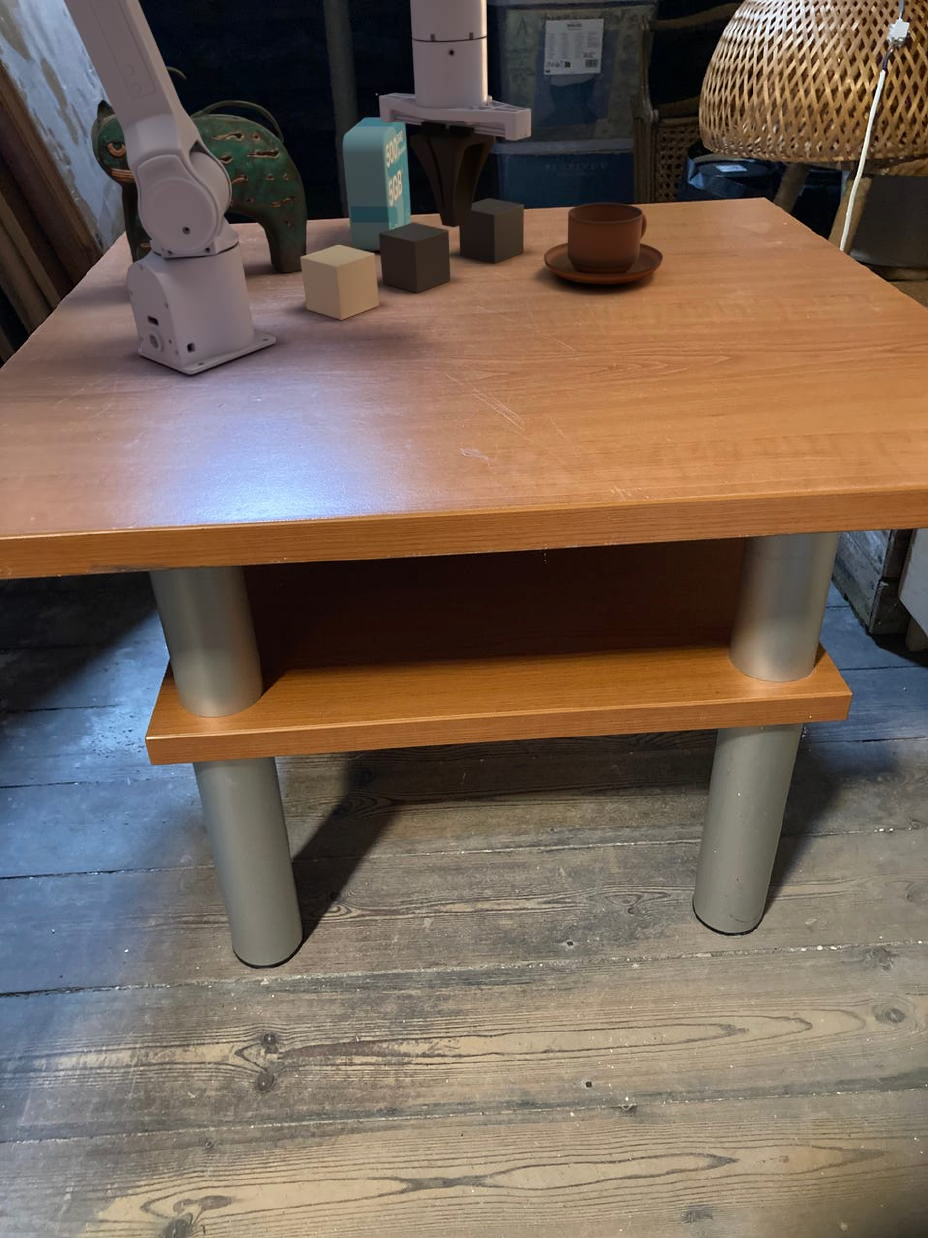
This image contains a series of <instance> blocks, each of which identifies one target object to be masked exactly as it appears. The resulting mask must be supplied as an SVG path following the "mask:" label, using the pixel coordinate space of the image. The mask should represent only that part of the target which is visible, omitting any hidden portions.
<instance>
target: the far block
mask: <svg viewBox="0 0 928 1238" xmlns="http://www.w3.org/2000/svg"><path fill="white" fill-rule="evenodd" d="M524 214H525V205H524V204H522V203H516V202H513V201H507V200H501V199H495V198H490V197H488V198H485V199H482V200H479V201H476V202H473V203H472V208H471V213H470V218H469V223H466V224H463V225H460V226H458V229H459V230H458V231H459V232H458V234H459V235H458V236H459V256H461V257H465V258H469V259H474V260H478V261H483V262H486V263H491V264H497V263H499V262H502V261H505V260H507V259H510V258H513V257H515V256H517V255H520V254H523V253H524V246H525V245H524V239H525V238H524V237H525V235H524V233H525V231H524V230H525V227H524V225H525V215H524Z"/></svg>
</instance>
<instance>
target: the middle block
mask: <svg viewBox="0 0 928 1238" xmlns="http://www.w3.org/2000/svg"><path fill="white" fill-rule="evenodd" d="M379 243H380V251H379V254H380V266H381V280H382V285H386V286H390V287H394V288H398V289H401V290H404V291H409V292H413V293H416V294H419V293H420V292H424V291H426V290H429V289H432V288H435V287H437V286H440V285H443V284H444V283H447V282H450V281H451V257H450V255H451V254H450V231H449V229H445V228H440V227H437V226H436V227H435V226H431V225H427V224H422V223H417V222H410V224H407V225H404V226H401V227H398V228H394V229H391V230H388V231H385V232H382V233H379Z"/></svg>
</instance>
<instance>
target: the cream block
mask: <svg viewBox="0 0 928 1238" xmlns="http://www.w3.org/2000/svg"><path fill="white" fill-rule="evenodd" d="M300 260H301V268H302V270H301V275H302V283H303V291H304V299H305V305H306V310H308V311H310V312H314V313H318V314H320V315H324V316H326V317H329V318H334V319H336V320H339V321H343V320H346V319H348V318H351V317H354V316H356V315H359V314H361V313H364V312H367V311H369V310H372V309H375V308H377V307H379V306H380V304H379V289H378V278H377V265H376V254H375V253H374V252H371V251H362V250H358V249H354V248H353V247H349V246H346V245H342V244H336V245H334V246H331V247H326V248H324V249H320V250H318V251H315V252H311V253H309V254H307V255H305V256H302V257H300Z"/></svg>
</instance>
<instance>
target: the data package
mask: <svg viewBox="0 0 928 1238" xmlns="http://www.w3.org/2000/svg"><path fill="white" fill-rule="evenodd" d="M407 145H408V143H407V129H406V123H402V122H392V123H386V122H381V117H364V118H363V119H361V121H359V122H357V124H355V125H354V126H353V127H352V128H350V130H348V131H347V132H345V134H344V135H343V139H342V156H343V167H344V178H345V188H346V199H347V210H348V218H349V219H348V220H349V229H350V239H351V245H352V248H354V249H358V250H362V251H366V252H380V243H379V233H382V232H385V231H388V230H391V229H394V228H398V227H401V226H404V225H407V224H410V223H411V220H412V219H411V217H412V211H411V197H410V196H411V195H410V179H409V162H408V146H407Z"/></svg>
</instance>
